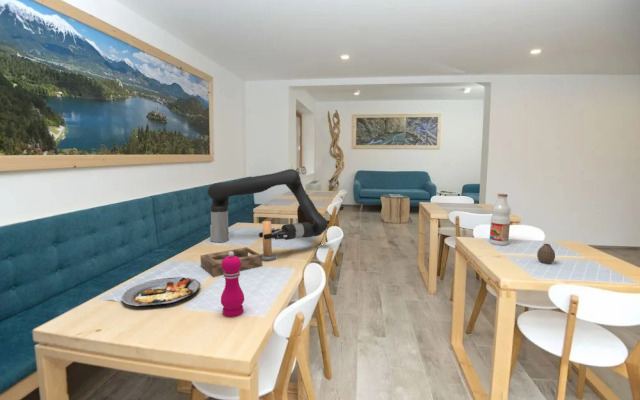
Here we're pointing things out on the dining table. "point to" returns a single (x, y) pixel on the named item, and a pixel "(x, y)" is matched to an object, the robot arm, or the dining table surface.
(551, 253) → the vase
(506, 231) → the fruit juice
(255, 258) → the keyhole base
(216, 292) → the dining table surface
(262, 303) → the dining table surface
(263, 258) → the peg
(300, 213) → the olive oil
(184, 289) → the food plate
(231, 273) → the pepper mill
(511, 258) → the dining table surface
